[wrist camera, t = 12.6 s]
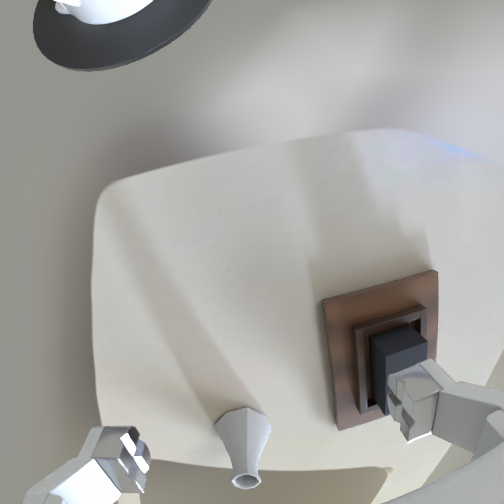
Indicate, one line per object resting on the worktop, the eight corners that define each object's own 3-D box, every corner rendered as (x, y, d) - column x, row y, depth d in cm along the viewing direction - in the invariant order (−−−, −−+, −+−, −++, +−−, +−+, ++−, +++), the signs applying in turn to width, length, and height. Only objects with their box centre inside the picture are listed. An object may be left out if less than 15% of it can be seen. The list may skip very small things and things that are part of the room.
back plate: (321, 299, 35) (328, 308, 33) (433, 269, 36) (444, 274, 33) (336, 426, 39) (341, 438, 37) (428, 393, 40) (436, 403, 37)
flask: (238, 450, 40) (240, 503, 30) (204, 422, 38) (199, 477, 28) (280, 428, 39) (291, 482, 29) (248, 398, 38) (252, 454, 28)
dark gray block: (368, 336, 35) (385, 356, 30) (408, 323, 35) (428, 340, 31) (370, 393, 37) (384, 416, 32) (407, 380, 37) (423, 401, 32)
